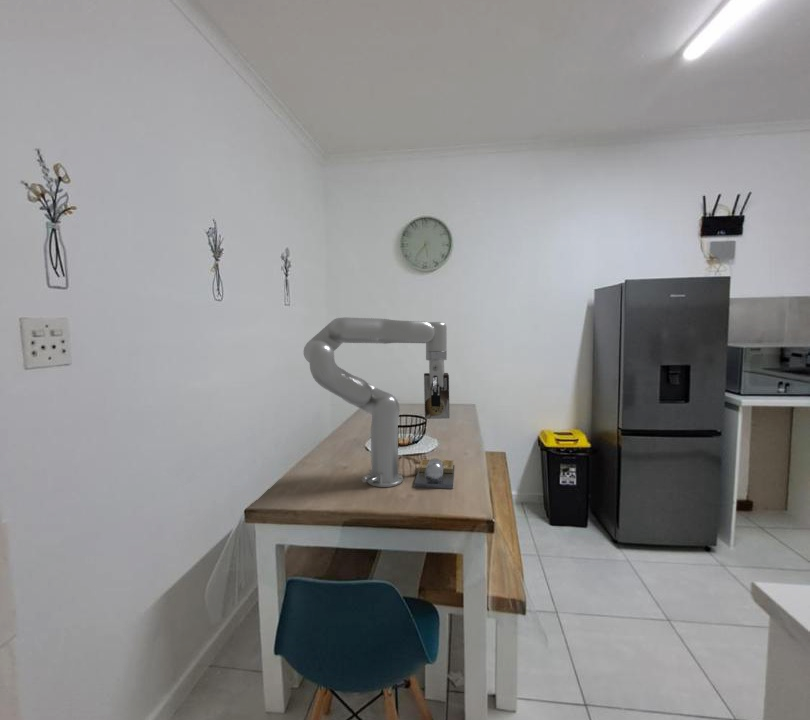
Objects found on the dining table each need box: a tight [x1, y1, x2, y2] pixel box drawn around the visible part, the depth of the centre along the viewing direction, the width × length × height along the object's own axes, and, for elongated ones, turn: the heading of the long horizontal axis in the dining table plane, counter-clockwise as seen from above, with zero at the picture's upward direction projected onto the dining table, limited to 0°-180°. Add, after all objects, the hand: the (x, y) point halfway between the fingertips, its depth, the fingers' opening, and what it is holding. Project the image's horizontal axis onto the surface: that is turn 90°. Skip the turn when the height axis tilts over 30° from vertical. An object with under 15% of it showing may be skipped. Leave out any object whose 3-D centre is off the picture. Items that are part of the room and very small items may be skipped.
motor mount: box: [414, 458, 455, 490], centre depth 153 cm, size 20×13×8 cm, turn 172°
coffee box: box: [423, 372, 451, 420], centre depth 155 cm, size 9×6×16 cm
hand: (436, 403), depth 156 cm, fingers closed on coffee box, 6 cm apart
